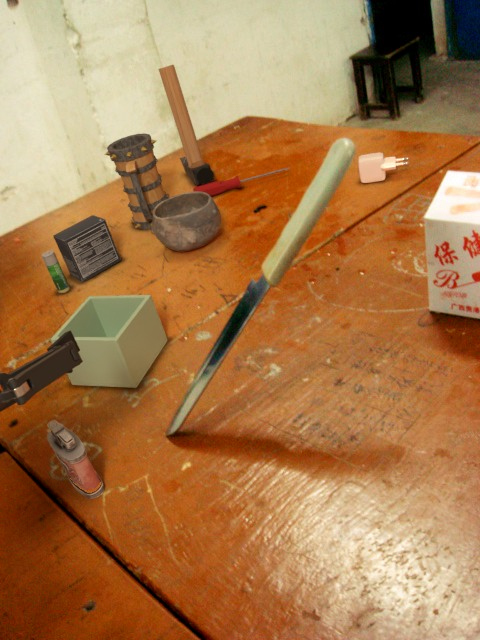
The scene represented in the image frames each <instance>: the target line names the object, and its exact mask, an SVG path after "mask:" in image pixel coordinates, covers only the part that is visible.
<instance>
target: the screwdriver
mask: <svg viewBox="0 0 480 640" xmlns="http://www.w3.org/2000/svg"><path fill="white" fill-rule="evenodd" d="M290 168H291V167H285V168H281V169H278V170H277V169H276V170H273V171H269V172H266V173H262V174H259V175H255V176H252V177H248V178H244V179H240V177H239V175H236V176H235V177H233V178H230V179H226V180H216V181H211V182H210V183H208V184H200V185H195V186H194V187H193V191H192V192H194V191H200V192H205V193H207V194H209V195H210V196H211V197H214V196H216V195H221V194H223V193H224V192H226V191H229V190H233V189H242V185H241V183H243V182H248V181H252V180H255V179H259V178H263V177H266V176H269V175H273V174H277V173H281V172H285V171H287V170H290Z"/></svg>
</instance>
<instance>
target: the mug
mask: <svg viewBox="0 0 480 640" xmlns="http://www.w3.org/2000/svg"><path fill="white" fill-rule="evenodd" d="M157 141H158V140H156V139H152V136H151V135H150V134H149V133H144V132H143V133H136V134H131V135H128V136H125V137H122V138H119V139H117V140H115V141H113V142H111V143H110V144H108V146H106V149H107V151H106V152H105V153H104V154H103V155H105V156H109V159H110V161H111V162H113V164H114V165H115V170H114V171H115V173H117V174H118V175H119V177H120V178H121V180H122V187H123V190H122V191H123V193H125V194H127V198H128V201H129V202H128V204H127V207H128V208H129V210H130V212H131V215H132V217H131V220H130V221H129V222H128V223H131V224H133V225H134V227H135V228H134V229H138V230H152V227H153V225H152V219H153V211H154V209H155V207H156V206H157V205H158V204H159V203H160V202H162V201H164V200H166V199H168V198H170V194H169V193H166V190H165V189H164V186H163V184H162V182H163V179H162V174H160V173H159V171H158V166H157V163H158V162H159V159H158V158H157V157H156V155H155V154H154V148H155V146H154V144H155V143H157Z"/></svg>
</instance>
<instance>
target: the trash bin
mask: <svg viewBox="0 0 480 640" xmlns="http://www.w3.org/2000/svg"><path fill="white" fill-rule="evenodd" d="M70 330H71V332H72V334H73V336H74V338H75V340H76V342H77V344H78V346H79V349H80V351H79V352H78V353H79V355H80V357H81V359H82V361H83V362H82V363H81V364H80V365H78V366H76V367H75V368H73V369H72V370H73V372H72V373H66V375H67V377H68V379H69V381H70V383H71V385H72V386H84V387H85V386H87V387H107V388H108V387H111V388H129V389H131V388H133V389H137V387H138V386H139V385H140V383H141V382H142V380H143V379H144V377H145V376H146V375H147V373H148V371H149V370H150V369H151V367H152V365H153V364H154V362H155V360H156V359H157V357H158V356H159V354H160V353H161V351H162V350H163V349H164V347H165V345H166V344H167V343H168V341H169V340H168V337H167V335H166V332H165V329H164V326H163V324H162V321H161V317H160V314H159V313H158V310H157V307H156V304H155V301H154V299H153V296H152V294H124V295H121V294H119V295H116V294H115V295H89V296H87V298H86V299H85V300H83V302H82V303H81V304H80V305H79V307H77V309H76V310H75V311H74V312H73V313H72V315H70V317H68V319H67V320H66V321H65V322H64V323H63V325H62V326H61V327H60V328H59V329H58V330H57V331H56V332H55V334H53V336H52V337H51V338H49V339H50V342H51V345H52V344H53V343H54V342H55V341H56V340H57V339H58V338H60V337H61V336H62V335H63V334H64V333H65V332H68V331H70Z"/></svg>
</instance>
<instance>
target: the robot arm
mask: <svg viewBox="0 0 480 640" xmlns="http://www.w3.org/2000/svg"><path fill="white" fill-rule="evenodd" d="M79 351H80V349H79V346H78V344H77V342H76V340H75V338H74V336H73V334H72V332H71V330H70V331H68V332H65V333H64V334H63V335H62V336H61V337H60V338H58V339H57V340H56V341H55V342H54V343H53V344H52V343H51V344H50V346H48V347H47V348H46V352H44V353H42V354H41V355H38V356H37V357H35V358H33V359H32V360H30V361H28V362H26V363H24V364H22V365H20V366H19V367H16V368H15V369H13V370H11V371H10V372H8V373H7V372H0V387H1V389H2V390H1V389H0V413H1V412H3V411H4V410H6V409H8V408H10V407H11V406H13V405H15V404H17V406H23V405H25V404H26V403H27V402H29V401H30V400H31V399H32V398H33V397H34V396H36V394H37V393H39V392H41V391H42V390H44V389H45V388H47V387H48V386H50V385H51V384H52V383H54V382H55V381H57V380H59V379H60V378H62V377H63V376H64V375H67V373H72V372H73V370H72V369H73V368H75V367H76V366H78V365H80V364H81V363H82V362H83V361H82V359H81V357H80V355H79V353H78V352H79Z"/></svg>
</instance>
